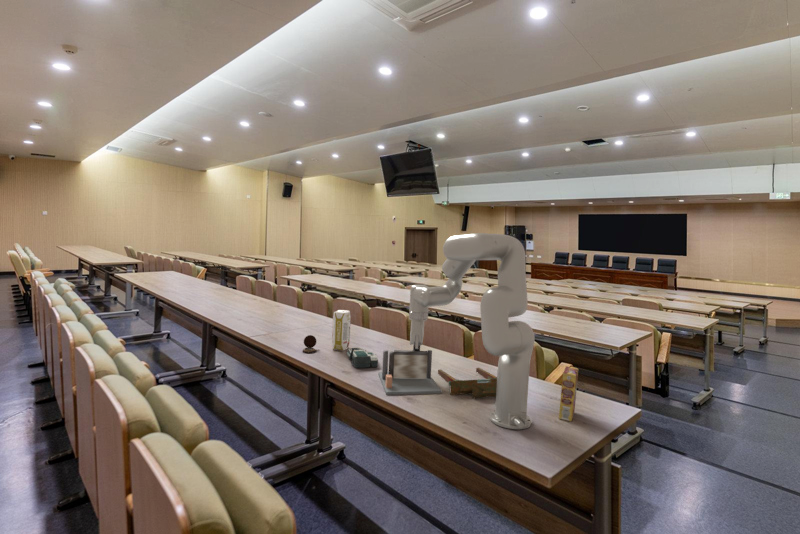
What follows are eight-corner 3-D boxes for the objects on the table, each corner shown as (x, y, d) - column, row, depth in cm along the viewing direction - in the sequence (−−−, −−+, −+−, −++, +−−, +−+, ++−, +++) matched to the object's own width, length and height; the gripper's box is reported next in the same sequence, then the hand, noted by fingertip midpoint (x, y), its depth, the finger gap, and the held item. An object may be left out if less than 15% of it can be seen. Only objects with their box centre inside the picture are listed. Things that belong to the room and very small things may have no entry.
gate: (388, 378, 157) (389, 351, 157) (388, 376, 160) (389, 349, 159) (426, 379, 158) (427, 352, 158) (425, 377, 160) (427, 350, 160)
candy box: (572, 422, 128) (576, 375, 127) (558, 419, 130) (561, 372, 129) (575, 412, 136) (578, 368, 135) (561, 409, 138) (564, 365, 137)
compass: (301, 353, 191) (302, 338, 191) (303, 349, 199) (304, 334, 199) (319, 353, 192) (319, 338, 192) (320, 349, 200) (320, 334, 200)
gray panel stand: (441, 393, 148) (443, 361, 147) (386, 394, 144) (387, 361, 143) (426, 373, 169) (428, 345, 169) (378, 374, 166) (379, 345, 165)
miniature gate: (487, 363, 176) (526, 382, 147) (487, 376, 176) (526, 397, 147) (429, 366, 169) (458, 386, 140) (428, 379, 169) (458, 402, 140)
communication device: (367, 353, 198) (368, 335, 197) (379, 368, 175) (379, 348, 174) (343, 354, 194) (343, 336, 194) (351, 369, 171) (352, 349, 171)
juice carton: (350, 347, 206) (351, 310, 205) (345, 351, 198) (346, 313, 196) (336, 345, 207) (337, 309, 206) (330, 350, 199) (331, 312, 198)
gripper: (409, 311, 169) (407, 354, 170) (408, 318, 154) (405, 365, 156) (427, 312, 169) (425, 355, 170) (428, 320, 154) (425, 367, 155)
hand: (416, 360), depth 163 cm, fingers closed
